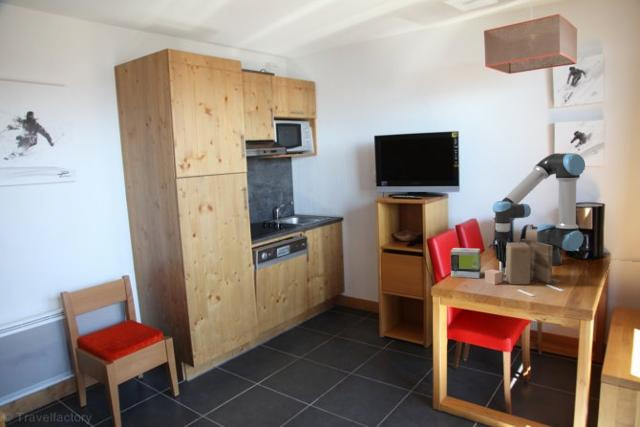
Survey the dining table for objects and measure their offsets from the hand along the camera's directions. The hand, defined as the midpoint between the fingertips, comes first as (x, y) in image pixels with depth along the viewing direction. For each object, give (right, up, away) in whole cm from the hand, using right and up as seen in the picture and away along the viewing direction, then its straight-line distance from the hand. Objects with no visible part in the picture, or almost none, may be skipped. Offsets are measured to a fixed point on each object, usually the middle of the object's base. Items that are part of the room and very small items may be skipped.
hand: (502, 272), depth 244 cm
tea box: (-18, -2, +6) cm, 19 cm away
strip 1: (0, -6, -29) cm, 29 cm away
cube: (-8, -4, -9) cm, 13 cm away
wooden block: (+4, -3, -11) cm, 12 cm away
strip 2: (+16, -4, -24) cm, 29 cm away
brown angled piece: (+17, -2, -7) cm, 18 cm away
